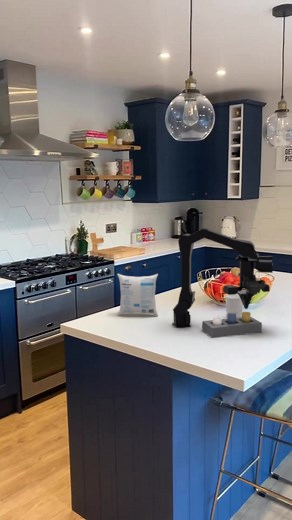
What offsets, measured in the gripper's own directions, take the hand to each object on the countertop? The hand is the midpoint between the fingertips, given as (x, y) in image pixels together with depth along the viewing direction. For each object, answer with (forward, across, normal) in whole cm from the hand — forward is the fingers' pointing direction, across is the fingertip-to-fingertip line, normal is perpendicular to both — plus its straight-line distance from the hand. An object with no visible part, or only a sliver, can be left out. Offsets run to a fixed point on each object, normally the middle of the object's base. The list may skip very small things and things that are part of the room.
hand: (245, 308), depth 188 cm
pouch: (+9, -37, +35) cm, 52 cm away
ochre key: (+6, 0, 0) cm, 6 cm away
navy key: (+6, -6, 0) cm, 9 cm away
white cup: (+9, +4, +18) cm, 21 cm away
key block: (+9, -6, 0) cm, 11 cm away
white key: (+7, -13, 0) cm, 15 cm away
